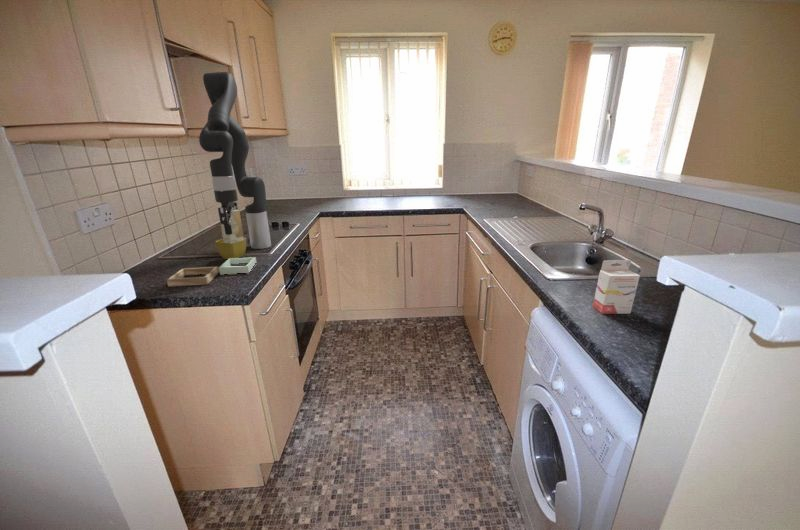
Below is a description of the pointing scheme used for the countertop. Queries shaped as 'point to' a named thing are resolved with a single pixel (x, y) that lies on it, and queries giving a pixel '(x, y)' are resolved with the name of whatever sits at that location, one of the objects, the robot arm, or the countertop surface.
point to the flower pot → (231, 249)
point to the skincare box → (233, 229)
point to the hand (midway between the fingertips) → (232, 231)
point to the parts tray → (229, 269)
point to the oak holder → (180, 281)
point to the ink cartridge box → (615, 288)
